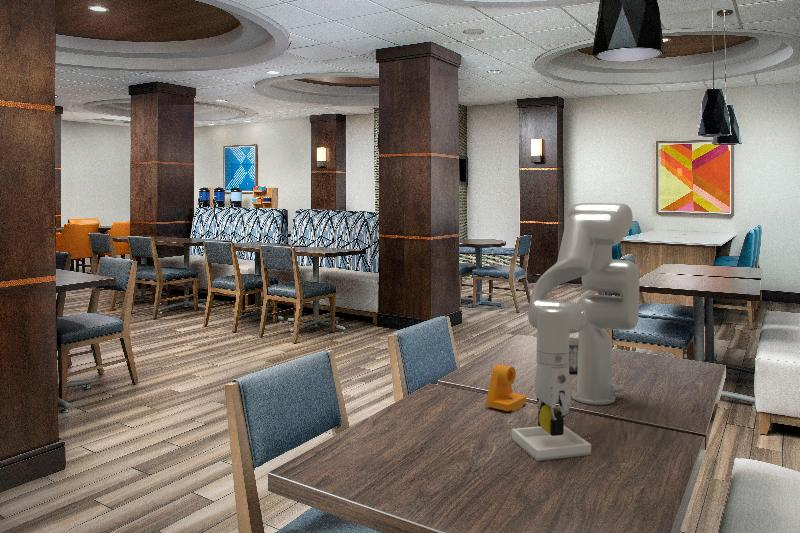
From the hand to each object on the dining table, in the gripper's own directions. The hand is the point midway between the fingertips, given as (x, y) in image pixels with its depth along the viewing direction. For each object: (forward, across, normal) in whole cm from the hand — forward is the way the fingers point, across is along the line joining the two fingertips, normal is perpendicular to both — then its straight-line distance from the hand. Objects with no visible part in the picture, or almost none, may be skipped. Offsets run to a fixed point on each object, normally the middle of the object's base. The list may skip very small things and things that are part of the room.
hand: (550, 429), depth 154 cm
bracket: (+5, +30, -2) cm, 30 cm away
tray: (+4, 0, 0) cm, 4 cm away
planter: (+4, +61, -39) cm, 73 cm away
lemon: (+1, 0, 0) cm, 1 cm away
